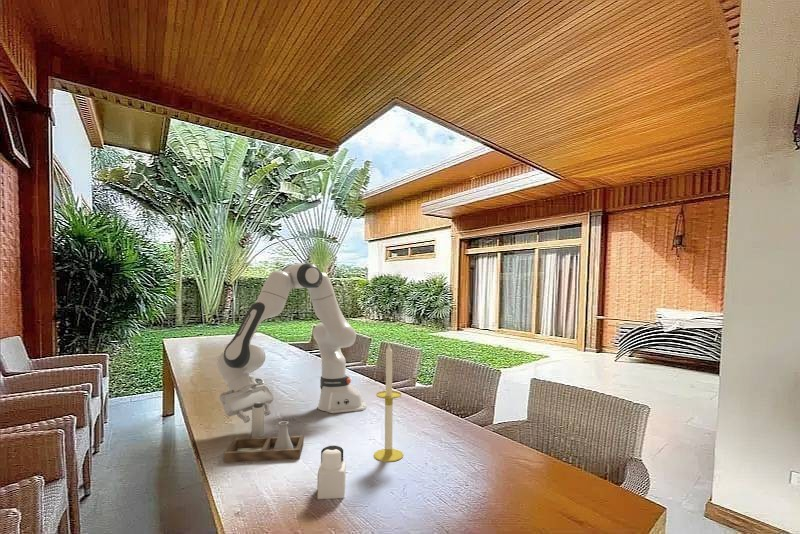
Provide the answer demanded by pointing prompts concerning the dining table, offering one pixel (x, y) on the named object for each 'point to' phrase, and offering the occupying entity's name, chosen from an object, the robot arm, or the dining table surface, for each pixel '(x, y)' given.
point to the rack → (261, 450)
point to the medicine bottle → (331, 473)
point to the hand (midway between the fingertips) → (258, 418)
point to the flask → (283, 437)
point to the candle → (388, 415)
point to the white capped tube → (258, 420)
